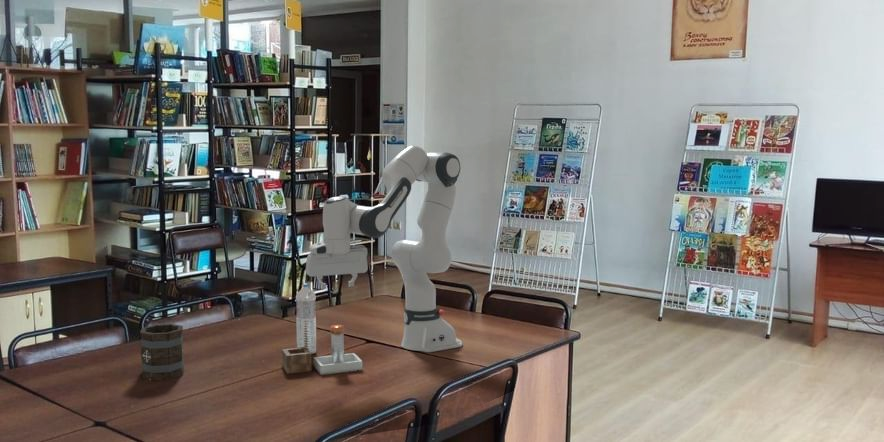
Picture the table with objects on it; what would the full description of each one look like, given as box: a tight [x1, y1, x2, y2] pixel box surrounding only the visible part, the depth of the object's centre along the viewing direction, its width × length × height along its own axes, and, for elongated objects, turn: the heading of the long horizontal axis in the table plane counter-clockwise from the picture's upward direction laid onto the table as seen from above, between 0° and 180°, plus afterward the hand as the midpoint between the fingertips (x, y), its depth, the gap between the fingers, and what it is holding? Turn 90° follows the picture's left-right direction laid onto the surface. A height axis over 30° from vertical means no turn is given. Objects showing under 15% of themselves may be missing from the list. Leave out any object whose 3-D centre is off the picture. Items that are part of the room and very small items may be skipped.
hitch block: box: [281, 347, 312, 375], centre depth 255 cm, size 8×8×6 cm
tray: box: [313, 352, 363, 376], centre depth 256 cm, size 14×10×3 cm
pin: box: [329, 324, 346, 364], centre depth 255 cm, size 5×5×14 cm
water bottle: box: [295, 282, 317, 356], centre depth 272 cm, size 7×7×25 cm
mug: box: [139, 323, 185, 381], centre depth 250 cm, size 20×14×15 cm
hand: (337, 287), depth 254 cm, fingers open, 8 cm apart
